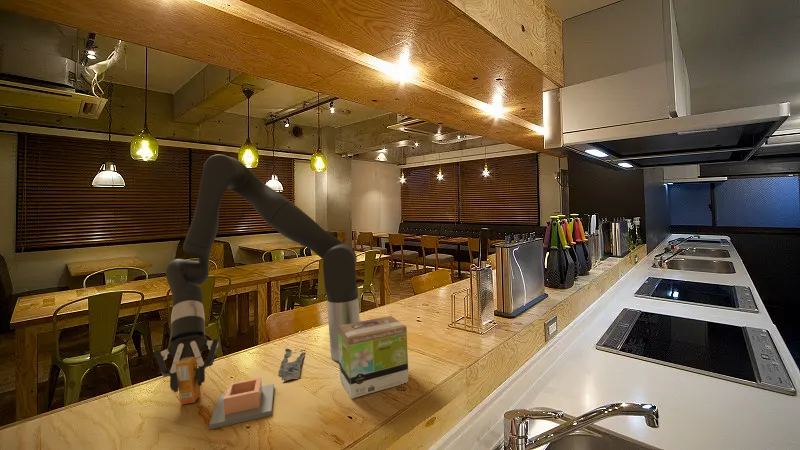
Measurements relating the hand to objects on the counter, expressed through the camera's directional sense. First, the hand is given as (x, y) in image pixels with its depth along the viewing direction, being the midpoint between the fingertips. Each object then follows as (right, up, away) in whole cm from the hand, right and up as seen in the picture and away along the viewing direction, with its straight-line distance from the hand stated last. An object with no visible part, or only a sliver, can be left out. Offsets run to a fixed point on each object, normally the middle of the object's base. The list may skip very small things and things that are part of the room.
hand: (188, 387), depth 77 cm
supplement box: (-1, -4, +2) cm, 5 cm away
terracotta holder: (+14, -3, -2) cm, 14 cm away
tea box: (+43, -2, +6) cm, 44 cm away
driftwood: (+19, -3, +18) cm, 26 cm away
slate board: (+14, -4, -2) cm, 15 cm away
